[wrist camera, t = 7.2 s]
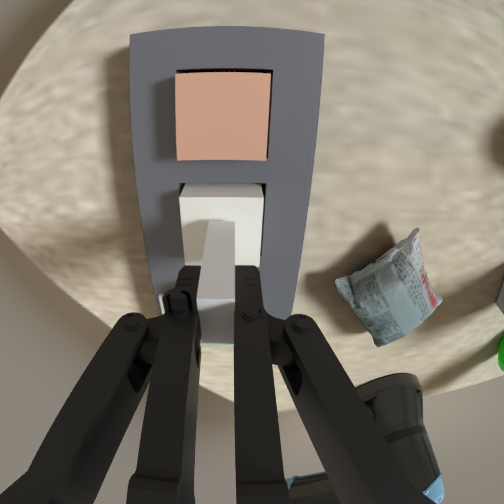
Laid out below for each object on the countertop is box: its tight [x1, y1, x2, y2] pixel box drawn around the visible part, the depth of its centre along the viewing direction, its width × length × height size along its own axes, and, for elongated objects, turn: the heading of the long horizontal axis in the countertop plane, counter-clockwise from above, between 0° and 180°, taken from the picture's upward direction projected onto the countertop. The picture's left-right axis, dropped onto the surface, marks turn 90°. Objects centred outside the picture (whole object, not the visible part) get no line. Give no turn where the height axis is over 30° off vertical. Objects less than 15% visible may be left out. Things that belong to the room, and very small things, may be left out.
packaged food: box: [334, 228, 443, 347], centre depth 25 cm, size 9×12×5 cm
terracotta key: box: [175, 72, 271, 161], centre depth 16 cm, size 5×5×4 cm
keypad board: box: [129, 26, 325, 320], centre depth 20 cm, size 25×11×3 cm, turn 178°
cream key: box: [179, 182, 264, 267], centre depth 19 cm, size 5×5×4 cm
